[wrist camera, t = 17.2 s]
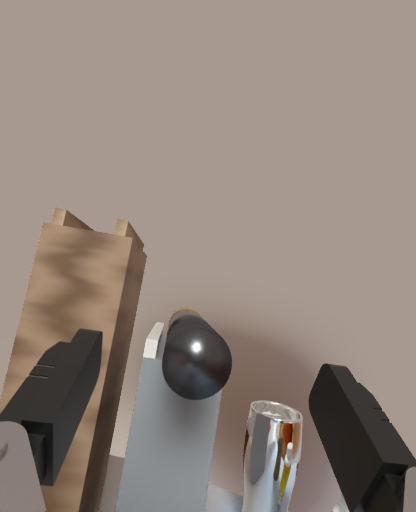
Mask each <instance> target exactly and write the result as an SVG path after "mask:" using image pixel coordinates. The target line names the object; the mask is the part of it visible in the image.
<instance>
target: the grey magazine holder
mask: <svg viewBox="0 0 416 512" xmlns="http://www.w3.org/2000/svg"><path fill="white" fill-rule="evenodd" d="M163 328H164V323H158V322H157V323H156V324H155V326H154V327H153V329H152V331H151V333H150V334H149V336H148V337H147V339H146V345H145V350H144V355H143V361H142V366H141V372H140V378H139V383H138V388H137V394H136V399H135V405H134V410H133V415H132V421H131V427H130V432H129V438H128V443H127V448H126V454H125V459H124V465H123V470H122V476H121V481H120V487H119V492H118V497H117V503H116V508H115V512H204V509H205V502H206V495H207V488H208V482H209V475H210V474H209V473H210V468H211V461H212V454H213V447H214V441H215V433H216V426H217V420H218V413H219V405H220V399H221V393H222V389H221V390H220V391H219V392H217V393H216V394H215V395H213V396H211V397H209V398H206V399H202V400H189V399H185V398H183V397H181V396H179V395H177V394H176V393H175V392H173V391H172V390H171V388H170V387H169V386H168V384H167V383H166V381H165V378H164V376H163V372H162V358H163V353H164V348H165V343H166V337H167V336H165V335H162V334H163Z"/></svg>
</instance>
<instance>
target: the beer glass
mask: <svg viewBox="0 0 416 512" xmlns="http://www.w3.org/2000/svg"><path fill="white" fill-rule="evenodd" d="M302 419H303V417H302V415H301V414H300V413H299V412H298V411H297V410H295V409H293V408H291V407H289V406H286V405H283V404H280V403H276V402H271V401H254V402H252V403H251V408H250V412H249V417H248V422H247V426H246V432H245V439H244V449H243V470H244V471H243V473H244V497H243V505H242V510H241V512H287V509H288V505H289V501H290V497H291V494H292V490H293V487H294V483H295V480H296V476H297V472H298V468H299V462H300V455H301V443H302Z"/></svg>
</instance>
